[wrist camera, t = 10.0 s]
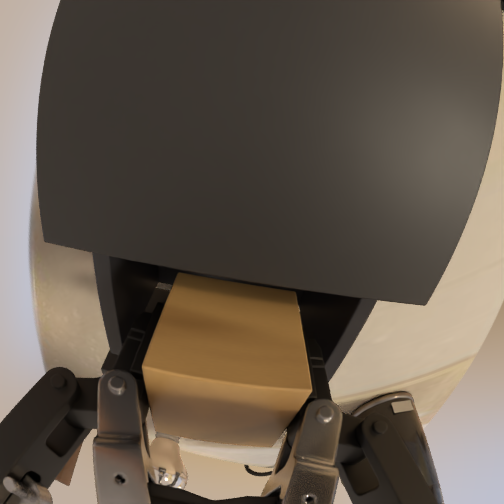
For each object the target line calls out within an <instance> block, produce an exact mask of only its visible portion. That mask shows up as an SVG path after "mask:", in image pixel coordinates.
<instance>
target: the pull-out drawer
mask: <svg viewBox="0 0 504 504" xmlns="http://www.w3.org/2000/svg"><path fill="white" fill-rule="evenodd" d="M92 253H93V252H92ZM93 262H94V269H95V276H96V283H97V289H98V295H99V301H100V306H101V311H102V316H103V321H104V326H105V330H106V335H107V339H108V343H109V347H110V350H109V352H108V355H107V357H106V359H105V361H104V363H103V365H102V368H101V370H102V373H103V374H104V373H106V372H107V371H110V370H112V368H113V367H114V365H115V362H116V360H117V358H118V355H119V353H120V351H121V349H122V346H123V344H124V342H125V340H126V338H127V335H128V333H129V331H130V330H131V326H132V324H133V322H134V320H135V318H137V317H138V316H139V315H140V314H141V313H143V312H148V313H153V311H154V309H155V307H156V304H157V303H158V302H162V303H166V300H167V298H168V295H169V293H170V291H168V290H163V289H158V288H156V286H157V284H158V282H161V283H166V284H171V285H173V283H174V281H175V278H176V276H177V274H178V273H179V272H180V273H186V274H191V275H197V276H202V277H208V278H214V279H220V280H225V281H231V282H237V283H243V284H249V285H256V286H262V287H268V288H275V289H281V290H288V291H294V292H296V297H297V302H298V305H299V309H300V312H299V313H300V319H301V324H302V325H304V326H305V329H306V335H307V338H312V339H315V340H316V342H317V343H318V345H319V346H320V347H321V350H322V355H323V360H324V364H325V369H326V374H327V379H328V382H329V381H330V379H331V378H332V376H333V375H334V373H335V372H336V370H337V369H338V367H339V366H340V364H341V363H342V361H343V359H344V358H345V356H346V355H347V353H348V351H349V350H350V348H351V346H352V345H353V343H354V341H355V340H356V338H357V336H358V335H359V333H360V331H361V329H362V328H363V326H364V324H365V322H366V320H367V319H368V317H369V315H370V313H371V311H372V309H373V307H374V306H375V304H376V302H377V300H373V299H365V298H357V297H349V296H342V295H335V294H327V293H320V292H313V291H306V290H300V289H293V288H286V287H280V286H273V285H267V284H261V283H254V282H248V281H242V280H236V279H230V278H224V277H218V276H212V275H207V274H201V273H195V272H190V271H184V270H179V269H173V268H168V267H163V266H157V265H152V264H147V263H142V262H137V261H132V260H127V259H122V258H117V257H112V256H107V255H102V254H98V253H93Z"/></svg>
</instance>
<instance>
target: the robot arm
mask: <svg viewBox="0 0 504 504" xmlns="http://www.w3.org/2000/svg"><path fill="white" fill-rule="evenodd" d="M164 305H165V303H162V302H158V303H157V304H156V307H155V309H154V311H153V313H148V312H143V313H141V314H140V315H139V316H138V317H137V318H135V320H134V322H133V324H132V326H131V330H130V331H129V333H128V335H127V338H126V340H125V342H124V344H123V346H122V349H121V351H120V353H119V355H118V358H117V360H116V362H115V365H114V367H113V368H112V370H110V371H107V372H106V373H104V374H103V375H102V376H101V377H99V378H76V377H75V375H74V374H73V372H71V371H70V370H69V369H67V368H63V367H56V368H53V369H51V370H49V371H48V372H47V373H46V374H45V375H44V376H43V377H42V378H41V379H40V380H39V381H38V382H37V383H36V384H35V385H34V386H33V388H31V390H30V391H29V392H28V393H27V394H26V395H25V396H24V397H23V398H22V399H21V400H20V402H19V403H18V404H17V405H16V406H15V407H14V408H13V409H12V410H11V412H10V413H9V414H8V415H7V416H6V417H5V418H4V419H3V421H2V422H1V423H0V504H53V501H52V497H51V494H50V492H49V491H48V488H49V487H50V485H51V484H52V482H53V481H54V480H55V478H56V477H57V476H58V474H59V473H60V472H61V470H62V469H63V467H64V466H65V465H66V463H67V462H68V461H69V459H70V458H71V457H72V455H73V454H74V453H75V451H76V450H77V449H78V447H79V446H80V445H81V443H82V442H83V441H84V439H85V438H86V437H87V435H88V434H89V433H90V431H91V430H92V429H97V436H96V437H95V438H94V440H93V462H94V475H95V485H96V494H97V502H98V504H306V503H305V502H307V504H333V502H334V497H335V494H336V489H337V485H338V480H339V476H340V478H341V480H342V482H343V484H344V487H345V489H346V491H347V493H348V495H349V497H350V499H351V501H352V503H353V504H444V503H442V502H444V501H443V496H442V492H441V488H440V484H439V481H438V477H437V473H436V469H435V466H434V463H433V459H432V456H431V452H430V449H429V446H428V443H427V440H426V436H425V433H424V430H423V427H422V425H421V422H420V419H419V416H418V413H417V410H416V408H415V405H414V400H413V397H412V395H411V394H410V393H406V392H398V393H392V394H388V395H385V396H382V397H379V398H377V399H374V400H372V401H370V402H368V403H366V404H364V405H363V406H361V407H360V408H358V409H357V410H356V411H354V412H353V413H352V415H348V414H345V413H343V412H342V411H341V409H340V408H339V406H338V405H337V404H335V403H334V402H333V401H332V398H331V394H330V389H329V384H328V379H327V374H326V369H325V364H324V360H323V355H322V350H321V347H320V346H319V345H318V343H317V342H316V340H315V339H312V338H307V335H306V329H305V326H304V325H302V330H303V336H304V341H305V347H306V353H307V359H308V365H309V372H310V378H311V384H312V392H311V394H310V395H309V397H308V398H307V400H306V401H305V403H304V404H303V406H302V407H301V408H300V410H299V411H298V413H297V414H296V416H295V417H294V418H293V420H292V421H291V423H290V424H289V425H288V427H287V434H286V435H285V437H284V439H283V442H282V445H281V448H280V451H279V454H278V457H277V460H276V463H275V466H274V469H273V471H270V472H265V473H257V472H254V471H252V470H251V469H250V468H249V466H248V465H244V467H245V469H246V471H247V472H248V473H250V474H252V475H255V476H268V475H271V476H270V478H269V480H268V482H267V483H266V485H265V488H264V489H263V492H262V494H261V497H256V496H255V497H254V496H245V497H239V498H232V499H225V500H210V499H207V498H204V497H201V496H198V495H196V494H193V493H191V492H188V491H185V490H183V489H180V488H175V487H170V486H165V485H161V484H157V481H156V476H155V471H154V467H153V463H152V458H151V452H150V445H149V438H148V430H147V421H146V417H147V413H148V409H149V407H150V406H149V402H148V397H147V392H146V387H145V382H144V376H143V371H142V364H143V361H144V358H145V355H146V353H147V350H148V347H149V345H150V342H151V339H152V336H153V334H154V331H155V329H156V326H157V323H158V321H159V318H160V316H161V313H162V310H163V308H164Z"/></svg>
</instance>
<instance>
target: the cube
mask: <svg viewBox="0 0 504 504" xmlns="http://www.w3.org/2000/svg"><path fill="white" fill-rule="evenodd" d="M142 371H143V376H144V382H145V387H146V392H147V397H148V402H149V406H150V411H151V415H152V419H153V423H154V427H155V431H156V432H160V433H165V434H169V435H174V436H179V437H184V438H190V439H195V440H202V441H208V442H215V443H223V444H232V445H243V446H257V447H272V446H273V445H274V444H275V442H276V441H277V440H278V439H279V437H280V436H281V435H282V433H283V432H284V431H285V429H286V428H287V427H288V425H289V424H290V423H291V421H292V420H293V418H294V417H295V416H296V414H297V413H298V411H299V410H300V408H301V407H302V406H303V404H304V403H305V401H306V400H307V398H308V397H309V395H310V394H311V392H312V384H311V378H310V372H309V365H308V359H307V353H306V347H305V341H304V336H303V330H302V324H301V319H300V313H299V308H298V302H297V297H296V292H294V291H288V290H281V289H275V288H268V287H262V286H256V285H249V284H243V283H237V282H231V281H225V280H220V279H214V278H208V277H202V276H197V275H191V274H186V273H180V272H179V273H178V274H177V276H176V278H175V281H174V283H173V286H172V288H171V291H170V293H169V295H168V298H167V300H166V303H165V305H164V308H163V310H162V313H161V316H160V318H159V321H158V323H157V326H156V329H155V331H154V334H153V336H152V339H151V342H150V345H149V347H148V350H147V353H146V355H145V358H144V361H143V364H142Z"/></svg>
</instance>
